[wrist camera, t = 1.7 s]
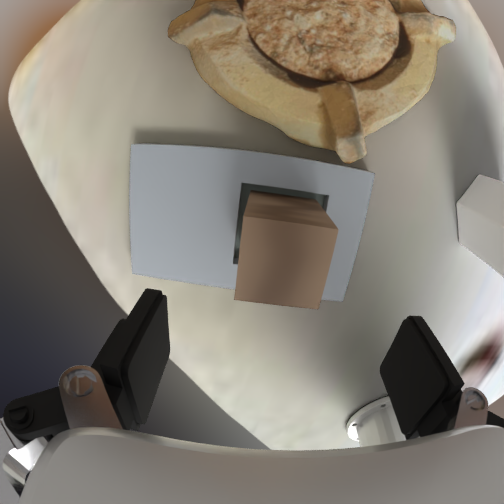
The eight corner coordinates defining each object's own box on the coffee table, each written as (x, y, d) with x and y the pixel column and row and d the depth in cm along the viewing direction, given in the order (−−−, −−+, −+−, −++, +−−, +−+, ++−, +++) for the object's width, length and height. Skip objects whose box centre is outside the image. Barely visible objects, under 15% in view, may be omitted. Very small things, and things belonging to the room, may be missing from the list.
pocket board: (368, 170, 22) (374, 173, 21) (339, 292, 27) (342, 301, 25) (139, 143, 22) (131, 144, 21) (138, 266, 27) (132, 273, 25)
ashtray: (471, 106, 19) (502, 106, 14) (265, 196, 24) (265, 211, 19) (356, -73, 11) (367, -95, 7) (145, -6, 16) (124, -27, 12)
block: (316, 199, 23) (338, 229, 16) (304, 258, 25) (318, 309, 18) (250, 190, 23) (243, 216, 16) (243, 251, 25) (234, 299, 18)
